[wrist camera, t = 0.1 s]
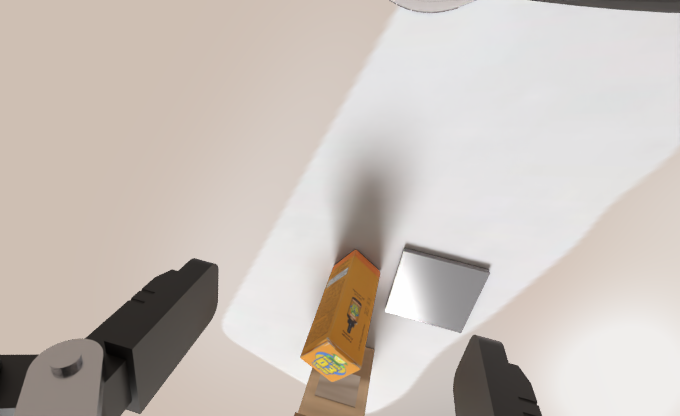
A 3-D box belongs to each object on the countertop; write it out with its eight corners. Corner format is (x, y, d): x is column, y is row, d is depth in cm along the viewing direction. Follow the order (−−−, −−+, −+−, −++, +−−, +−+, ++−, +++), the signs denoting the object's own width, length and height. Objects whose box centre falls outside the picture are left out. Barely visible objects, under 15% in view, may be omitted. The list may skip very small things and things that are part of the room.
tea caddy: (321, 332, 36) (291, 423, 28) (376, 348, 36) (362, 445, 28) (315, 362, 39) (286, 454, 31) (367, 378, 38) (351, 475, 30)
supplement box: (329, 266, 32) (295, 357, 23) (356, 246, 30) (329, 336, 22) (355, 289, 33) (330, 386, 24) (382, 271, 31) (366, 368, 22)
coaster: (404, 247, 30) (403, 251, 29) (488, 269, 29) (489, 273, 28) (385, 308, 33) (384, 311, 33) (460, 328, 32) (461, 333, 32)
